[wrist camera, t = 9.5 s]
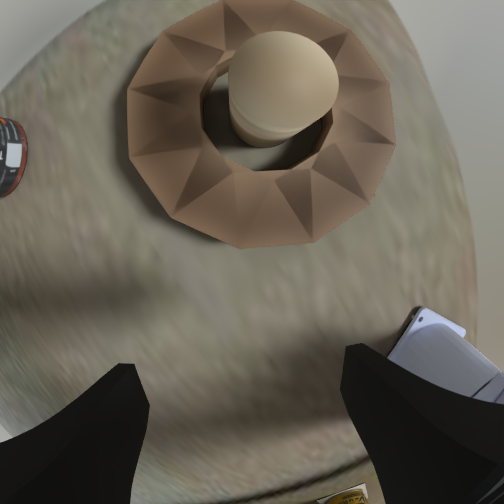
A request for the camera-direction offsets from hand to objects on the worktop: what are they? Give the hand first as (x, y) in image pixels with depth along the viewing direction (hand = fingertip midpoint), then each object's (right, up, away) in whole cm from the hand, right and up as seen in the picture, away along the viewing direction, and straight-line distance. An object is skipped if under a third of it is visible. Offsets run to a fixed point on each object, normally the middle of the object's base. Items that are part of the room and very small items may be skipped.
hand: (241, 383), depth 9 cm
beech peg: (+1, +12, +7) cm, 14 cm away
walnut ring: (+1, +12, +6) cm, 14 cm away
